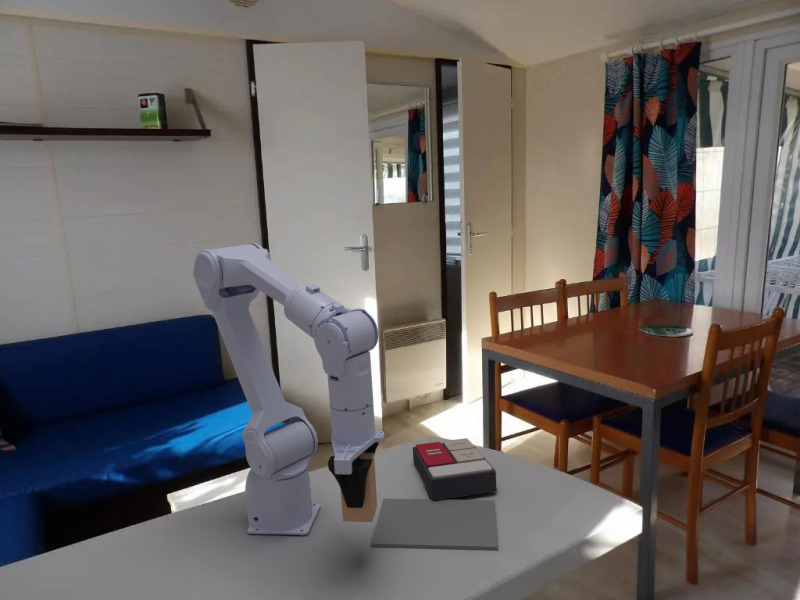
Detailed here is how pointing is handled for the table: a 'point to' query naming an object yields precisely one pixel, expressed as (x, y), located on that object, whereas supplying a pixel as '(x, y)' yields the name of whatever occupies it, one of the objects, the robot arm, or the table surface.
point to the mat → (436, 524)
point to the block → (369, 502)
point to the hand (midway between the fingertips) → (358, 497)
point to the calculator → (453, 469)
